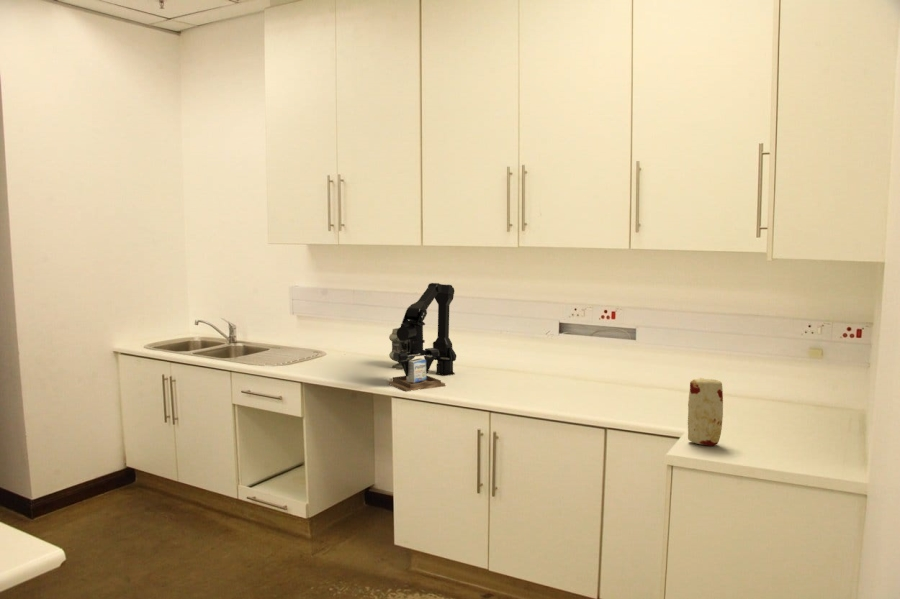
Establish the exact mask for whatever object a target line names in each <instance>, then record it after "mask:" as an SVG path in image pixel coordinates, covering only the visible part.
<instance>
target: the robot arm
mask: <svg viewBox="0 0 900 599" xmlns="http://www.w3.org/2000/svg"><path fill="white" fill-rule="evenodd" d="M454 295H455V288H454V287H453V285H452V284H442V283H439V282H431V283H428V285H427V287H426V290H424V292H423V293H422V295H421V296H420V298H419V299H418V300H417V301H416V302H414V303H412V304H410V306H408V307H407V308H406V310H405V313H404V316H403V318H402V322H401V323H400V327H398V328H399V329H398V330H397V337H398V339H399V340H401V341H406V340H408V341H407V343H406V344H405V343H404V342H400V343H399V350H403V351H399V352H394V354H393V359H396V360H397V361H399V362H400V363H401V365H402V367H403V369H402V370H403V372H404V376H408V366H409V361H408V360H407V359H408V357H414V358H415V357H423V359H426V375H428V372H429V370H430V369H431V366H432V364H433V363H434V361H437V363H436V371H435V374H436V375H440V376H449V375H455V374H456V373H455V372H454V362H456V360H457V354H456V352H455V351H454V349H453V342H452V341H451V339H450V337H449V336H450V306H451V303H452V302H453V300H454ZM434 300H435V301H436V303H437V338H436V339H435V341H433V343H432V347H429V348H428V347H427V348H424V343H425V342H426V340H425V339H424V326H425V325H426V323H425V321H424V320H425V319H426V317H427V314H428V311H427V310H428V308H429V307H430V305H431V304H432V302H433V301H434ZM406 352H409V353H406ZM412 354H414V355H412Z"/></svg>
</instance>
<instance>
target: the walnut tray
mask: <svg viewBox="0 0 900 599" xmlns="http://www.w3.org/2000/svg"><path fill="white" fill-rule="evenodd" d="M388 383H389V384H388V385H390V384H391V385H390V386H392V385H393V386H392V387H395V388H397V387H398V389H399V388H400V389H399V390H401V391H404V392H412V391H411V390H413V391H419V390H418V389H420V390H426V389H433V388H439V387H446V383H445V382H442V381H441V380H440V379H439V378H436V377H432V376H430V375H428V374H426V380H423V381H420V382H416V383H412V382H407V379H406V375H402V376H393V377H392V380H391V381H388Z"/></svg>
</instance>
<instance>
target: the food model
mask: <svg viewBox="0 0 900 599" xmlns="http://www.w3.org/2000/svg"><path fill="white" fill-rule="evenodd" d="M723 391H724V390H723V382H722V381H721V380H717V379H713V378H702V377H698V378H696V379H692V380H690V382H689V392H688V393H689V394H688V401H687V407H688V408H687V411H688V412H687V432H688V433H687V440H688V441H689V442H691V443H693V444H698V445H703V446H709V447H710V446H711V447H715V446H716V445H718V444H719V442H720V439H721V434H722V430H723V429H722V428H723V421H724V420H723V418H724V393H723Z"/></svg>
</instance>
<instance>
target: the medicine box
mask: <svg viewBox="0 0 900 599" xmlns="http://www.w3.org/2000/svg"><path fill="white" fill-rule="evenodd" d="M426 375H427V374H426V359H425V358H416V359H415V358H414V359H412V360H410V361H409V366H408V376H406V375H405V376H406V379H407V382H412V383H416V382H420V381H423V380H426Z"/></svg>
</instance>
